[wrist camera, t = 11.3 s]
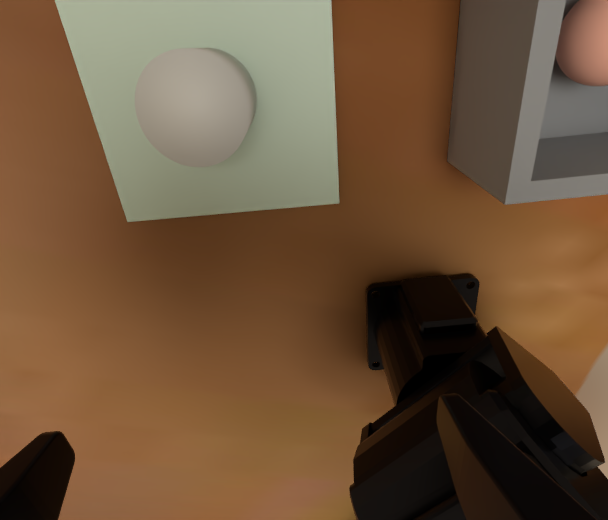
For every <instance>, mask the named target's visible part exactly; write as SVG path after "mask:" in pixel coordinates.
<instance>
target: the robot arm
mask: <svg viewBox="0 0 608 520" xmlns="http://www.w3.org/2000/svg"><path fill="white" fill-rule="evenodd" d="M469 282H472V283H471V284H470V285H467V283H469ZM478 290H479V281H478V279H477V278H476V277H475V276H474V275H471V274H467V275H457V276H436V277H426V278H416V279H405V280H403V281H396V282H386V283H376V284H371V285H370V286H368V287H367V289H366V322H367V361H368V365H369V368H370V369H372V370H383V369H384V370H385V374H386V377H387V381H388V384H389V388H390V391H391V395H392V398H393V401H394V405H395V407H393V408H392V409H391V410H389V411H388V412H387V413H386V414H384V415H383V416H382V417H380V418H379V419H378V420H376V421H375V422H374V423H369V424H368V425H366V426H365V427H364V428H363V429H362V434H361V441H360V445H359V446H358V447H357V450H356V454H355V457H354V460H353V463H354V483H353V484H352V485H351V486H350V498H351V502H352V506H353V509H354V513H355V516H356V518H357V520H608V479H607V478H606V476H605V475H604V474H603V473H602V472H601V470H600V469H599V468H598V467H597V466H599V465H601V464H603V463H605V460H604V456H603V453H602V450H601V447H600V444H599V441H598V438H597V435H596V432H595V429H594V426H593V423H592V419H591V417H590V414H589V413H588V411H587V410H586V408H585V407H584V406H583V405H582V404H581V403H580V402H579V400H578V399H577V398H576V397H575V396H574V395H573V394H572V392H571V391H570V390H569V389H568V388H567V387H566V386H565V384H564V383H563V382H562V381H561V380H560V379H559V378H558V377H557V375H556V374H555V373H554V372H553V371H551V370H550V369H549V368H548V367H547V366H545V365H544V364H543V363H542V362H540V361H539V360H538V359H537V358H535V357H534V356H533V355H532V354H530V353H529V352H528V351H527V350H526V349H524V348H523V347H522V346H521V345H519V344H518V343H517V342H516V341H514V340H513V339H512V338H511V337H509V336H508V335H507V334H506V333H505V332H503V331H502V330H501V329H500V328H498V327H497V326H496V327H495V328H493V329H492V330H491V331H489V332H488V333H487V335H486V333H485V332H484V330H483V329H482V327H481V326H480V325H479V323H478V319H477V318H476V316H475V310H476V304H477V297H478ZM374 291H378V293H377V294H372V292H374ZM374 362H377V363H374ZM74 462H75V453H74V450H73V449H72V447H71V445H70V444H69V442H68V440H67V439H66V437H65V436H64V434H63V433H62V432H60V431H54V432H45V433H42V434H40V435H39V436H37V437H36V438H35V439H34V440H33V441H31V442H30V443H29V444H28V445H27V446H26V447H24V448H23V449H22V450H21V451H20V452H19V453H17V454H16V455H15V456H14V457H13V458H11V459H10V460H9V461H8V462H7V463H6V464H4V465H3V466H2V467H1V468H0V520H58V518H59V514H60V511H61V507H62V504H63V500H64V497H65V494H66V490H67V487H68V483H69V480H70V476H71V473H72V469H73V466H74Z"/></svg>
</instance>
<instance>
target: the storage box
mask: <svg viewBox="0 0 608 520" xmlns="http://www.w3.org/2000/svg"><path fill="white" fill-rule="evenodd" d="M578 1H579V0H461V2H460V14H459V26H458V38H457V49H456V61H455V73H454V85H453V97H452V109H451V121H450V133H449V145H448V157H447V162H449V163H450V164H451V165H453V166H454V167H455V168H457V169H458V170H459V171H461V172H462V173H463V174H465V175H466V176H467V177H469V178H470V179H471V180H473V181H474V182H475V183H477V184H478V185H479V186H481V187H482V188H483V189H485V190H486V191H487V192H489V193H490V194H491V195H493V196H494V197H495V198H497V199H498V200H499V201H501V202H502V203H503V204H505V205H506V204H516V203H526V202H536V201H546V200H556V199H565V198H575V197H585V196H595V195H605V194H608V85H606V86H587V85H583V84H580V83H577V82H575V81H573V80H571V79H570V78H568V77H567V76H566V75H565V74H564V73H563V72H562V70H561V69H560V67H559V65H558V63H557V59H556V55H555V54H556V49H557V44H558V39H559V34H560V29H561V24H562V21H563V20H564V18H565V16H566V15H567V14H568V12H569V11H570V10H571V8H572V7H573V6H574V5H575V4H576V3H577V2H578Z"/></svg>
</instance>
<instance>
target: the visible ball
mask: <svg viewBox="0 0 608 520" xmlns="http://www.w3.org/2000/svg"><path fill="white" fill-rule="evenodd" d="M555 55H556V59H557V63H558V65H559V67H560V69H561V70H562V72H563V73H564V74H565V75H566V76H567V77H568V78H570V79H571V80H573V81H575V82H577V83H580V84H583V85H587V86H606V85H608V0H579V1H578V2H577V3H576V4H575V5H574V6H573V7H572V8H571V10H570V11H569V12H568V14H567V15H566V16H565V18H564V20H563V21H562V24H561V29H560V34H559V39H558V44H557V49H556V54H555Z"/></svg>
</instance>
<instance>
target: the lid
mask: <svg viewBox="0 0 608 520" xmlns="http://www.w3.org/2000/svg"><path fill="white" fill-rule="evenodd" d="M55 2H56V6H57V9H58V12H59V15H60V18H61V21H62V24H63V27H64V30H65V33H66V36H67V39H68V42H69V45H70V48H71V51H72V54H73V57H74V60H75V63H76V67H77V70H78V73H79V76H80V79H81V82H82V85H83V88H84V91H85V94H86V97H87V100H88V103H89V106H90V109H91V112H92V115H93V118H94V121H95V124H96V128H97V131H98V134H99V137H100V140H101V143H102V146H103V149H104V152H105V155H106V158H107V161H108V164H109V167H110V170H111V173H112V176H113V179H114V182H115V185H116V189H117V192H118V195H119V198H120V201H121V204H122V207H123V210H124V213H125V216H126V219H127V222H134V221H145V220H157V219H168V218H179V217H191V216H202V215H213V214H225V213H236V212H247V211H259V210H270V209H281V208H293V207H304V206H315V205H327V204H338V203H339V180H338V155H337V130H336V106H335V81H334V57H333V32H332V8H331V0H55Z"/></svg>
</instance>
